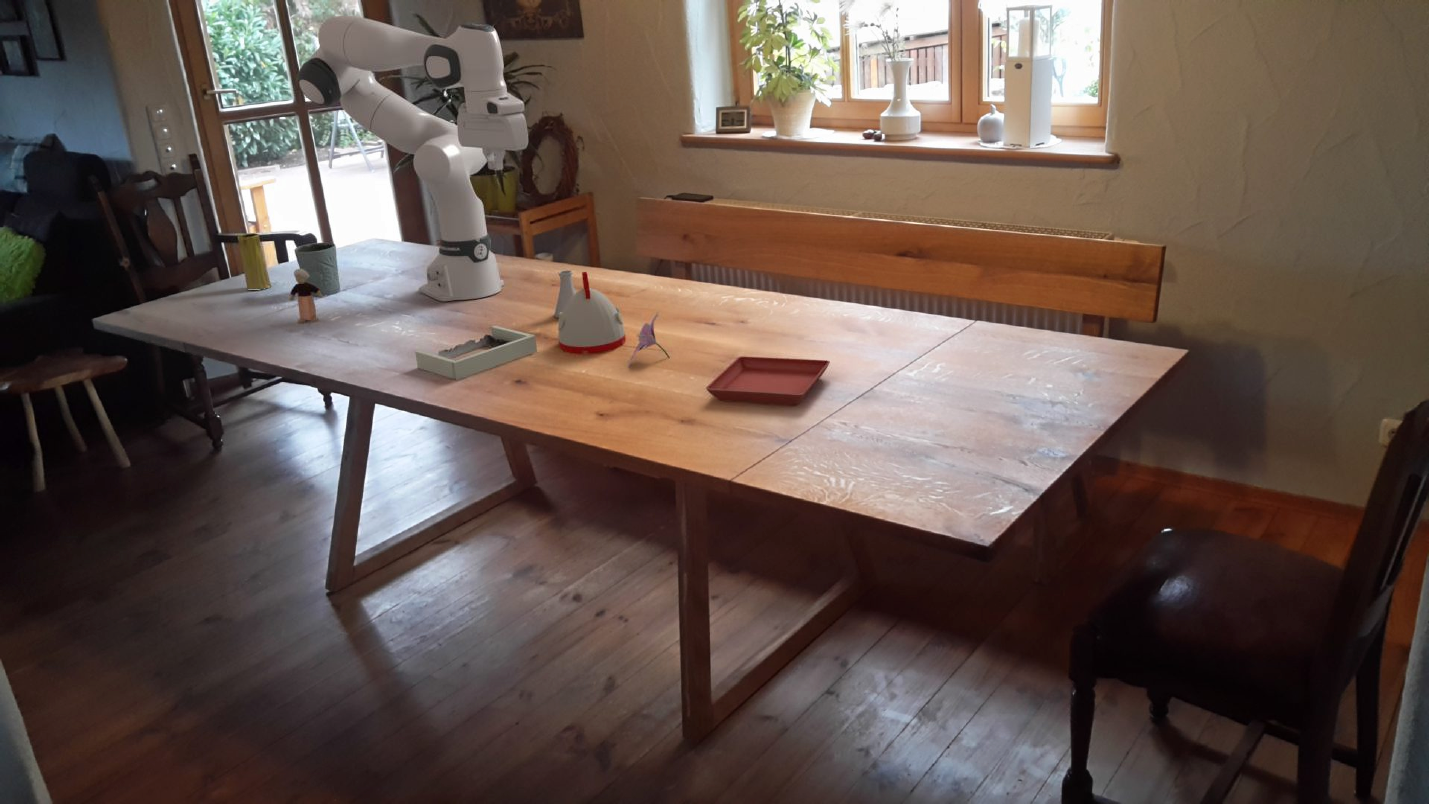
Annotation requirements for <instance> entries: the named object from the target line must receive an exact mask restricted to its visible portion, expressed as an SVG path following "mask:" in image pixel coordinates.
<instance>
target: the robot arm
mask: <svg viewBox="0 0 1429 804" xmlns="http://www.w3.org/2000/svg"><path fill="white" fill-rule="evenodd" d="M317 35H318V36H317V37H318V38H317V39H318V44H319V47H317V50H316V51H315V52H314V53H313V54H312V55H311V56H310V57H309V59H308V60H307V61H305V62H304V63H303V64H302V65H301V67H300V69H299V71H298V73H297V74H296V81H297V85H298V87H299V89H300V91H301V92H302V94H303V95H304V96H305V97H306V98H307V99H308V100H309V101H310V102H311V103H314V104H316V105H317V106H318V105H319V106H322V107H329V106H332V105H333V104H335V103H337V102H338V101H339V100H340V106H341V109H342V110H343V111H344V112H345V113H346V114H347V115H348V116H349V117H350V118H351V119H353V120H354V122H356V123H358V125H360V126H361V127H362V128H364V129H365V130H367V131H369V132H370V133H371V134H373V135H375V136H376V137H377V138H379V139H381V140H382V141H384V142H385V143H386V144H389V145H390V146H391V147H393V148H394V149H397V150H398V151H400V152H402V153H407V154H411V155H414V156H413V168H414V171H415V173H416V175H417V176H418V178H419V179H420V180H422V181H423V183H425V184H426V187H427V188H428V190H429V193H430V194H431V197H432V199H433V202H434V205H435V209H436V213H437V217H438V218H437V219H438V224H439V230H440V236H441V238H440V239H437V240H435V242H438V243H436V246H439V248H438V253H439V254H438V255H437V256H436V257H435V258H434V259H433V261H432V262H431V263H430V264H429V265H428V266H427V268H426V281H427V283H425V284H423V285H421V286H419V287H418V292H419V293H421V294H423V295H426V296H428V297H431V299H432V298H433V299H435V300H437V301H440V302H450V301H462V300H465V301H466V300H475V299H481V298H485V297H490V296H493V295H495V294H497V293H499V292H500V291H501V290H502V289H503V288H502V286H504V285H505V282H504V280H503V279H501V277H500V274H499V273H500V272H499V269H498V263H497V260H496V256H495V253H493V252H492V251H491V248H492V244H491V242H492V241H491V238H490V234H489V233H488V231H487V224H486V216H485V208H484V203H483V202H482V200H481V199H480V198H479V197H478V196H477V194H476V193H475V190H474V187H473V185H472V181H471V179H470V176H472V175H474V174H477V173H478V172H480V170H481V169H482V168H483V167H485V165H486V164H487V168H488V169H489V170H494V171H500V170H501V171H502V170H503V169H504V163H503V161H504V157H505V155H506V151H521V150H525V149H527V147H528V145H529V135H528V126H527V121H526V117H525V115H524V114H523V113H522V112H525V103H524V101H523V100H521V99H519V98H518V97H516V96H514V95H512V93H509V92H508V89H507V83H506V82H505V78H504V68H505V66H504V58H503V50H502V46H501V42H500V38H499V35H498V32H497V30H496V28H495V27H494V26H492V25H491V24H487V23H484V22H483V23H482V22H466V23H465V22H464V23H462V24H460V25H459V26H457V28H456V30H455V32H453V33H452V34H451V35H449V36H448V37H442V36H441V37H440V36H435V35H430V34H429V35H428V34H425V33H420V32H416V31H412V30H409V29H406V28H402V27H401V28H400V27H398V26H394V25H391V24H388V23H384V22H382V21H377V20H373V19H370V18H366V17H359V16H353V15H352V16H350V15H340V16H339V15H338V16H332V17H331V16H330V17H329V18H327V19H325V20H324V21H323V22H322V24H321V25H320V27H319V30H318V34H317ZM415 66H423V68H424V72H425V73H424V74H425V75H426V78H427V79H428V80H429V81H430V83H431V84H432V85H433V86H435V87H437V88H438V89H446V90H447V89H455V88H463V92H464V99H465V102H462V103H461V105H459V108H458V111H457V112H458V115H457V117H456V124H455V123H452V122H450V121H447V120H445V119H443V118H440V117H439V116H436V115H433V114H430V113H428V112H427V111H425V110H423V109H421V108H419V107H418V106H416V105H414V104H413V103H412V102H411V101H409V100H407V99H406V98H403V97H402V96H400V95H398V94H397V93H396V92H394V91H392V90H391V89H388V88H387V87H386V86H383V85H382V84H380V83H379V82H378V81H377V80H376V79H375V77H374V75H373V73H379V72H388V71H389V72H390V71H394V70H399V69H405V68H410V67H415Z"/></svg>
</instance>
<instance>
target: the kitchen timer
mask: <svg viewBox="0 0 1429 804" xmlns="http://www.w3.org/2000/svg"><path fill="white" fill-rule="evenodd" d="M588 275H589V274H588V273H587V271H582V272H581V276H582V285H583V288H582V289H580V290H578V291H576V294H574V295H573V296H572V298H571V299H570V300H569V302H568V303H567V305H566V307H565V309H564V311H563V313H562V312H560V313H559V317H558V327H557V331H558V337H557V339H558V347H560V348H559V349H560V351H562V350H563V352H565V353H568V354H572V353H573V354H572V355H593V354H601V353H607V352H611V351H613V350H616V349H618V348H620V347H622V346H624V344H625V343H626V340H627V339H626V338H627V337H626V331H625V327H624V322H623V321H624V320H623V317H622V315H621V311H620V309H619V306H617V305H615V306H614V304H613V303H612V302H611V300H610V299H609V298H608V297H607V296H606V295H605V294H603V293H602V292H601V291H600V290H597V289H594V288H591V287H590V283H589V277H588Z"/></svg>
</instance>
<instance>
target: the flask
mask: <svg viewBox="0 0 1429 804" xmlns="http://www.w3.org/2000/svg"><path fill="white" fill-rule="evenodd" d="M557 273H558V276H559V279H560V285H559V293H558V297H557V302H556V306H555V311H554V316H555V318H559V313H560V312H562V313H563V311H564V309H565V307H566V305H567V303H568V302H569V300H570V299H571V298H572V296H573V295H574V294H576V293H577V291H576V289H575V286H574V283H573V279H572V275H573V271H572V270H568V269H567V270H560V271H558V272H557Z"/></svg>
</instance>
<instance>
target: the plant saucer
mask: <svg viewBox="0 0 1429 804" xmlns="http://www.w3.org/2000/svg"><path fill="white" fill-rule="evenodd" d="M829 365H830V361H829V360H826V359H825V360H824V359H807V358H806V359H805V358H804V359H803V358H790V357H789V358H783V357H763V356H762V357H760V356H745V355H744V356H738V357H737V358H736V359H735V360H734V361H732V363H731V364H729V365H728V366H727V367H726V368H725V369H724V370H722V372H721V373H720V374H719V375H717V376H716V378H715V379H713V380H712V381H711V382H710V383H709V384H708V385H707V386H706V388H705V389H706V391H707V392H709V394H710V395H712V396H713V397H714V398H716V399H717V400H719V401H723V402H734V403H749V404H750V403H751V404H762V405H776V406H791V407H795V406H796V407H797V406H798V405H799V403H801V401H802V400H803V398H805V396H807V394H808V392H809V391H810V390H812V388H813V387H814V386H815V384H816V383H817V382H818V381H819V379H821V377H822V376H823V374H824V373H825V371H826V370H827V369H828V367H829Z"/></svg>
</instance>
